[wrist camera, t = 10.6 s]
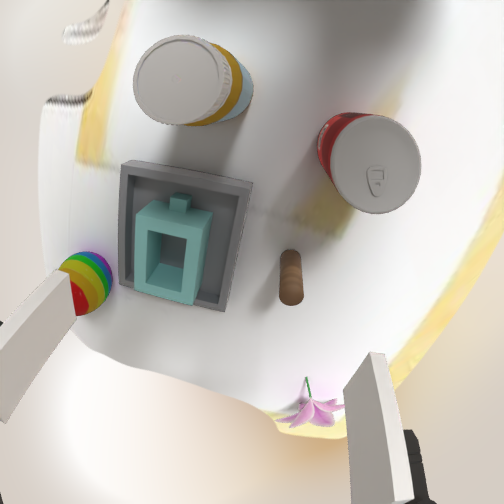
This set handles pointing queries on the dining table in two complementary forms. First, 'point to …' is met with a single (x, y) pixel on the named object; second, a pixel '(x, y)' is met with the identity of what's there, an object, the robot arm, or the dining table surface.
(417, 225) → the dining table surface
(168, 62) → the bottle
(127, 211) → the tray
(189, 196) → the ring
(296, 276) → the post
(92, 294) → the decorative egg
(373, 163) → the canned food
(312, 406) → the lily
